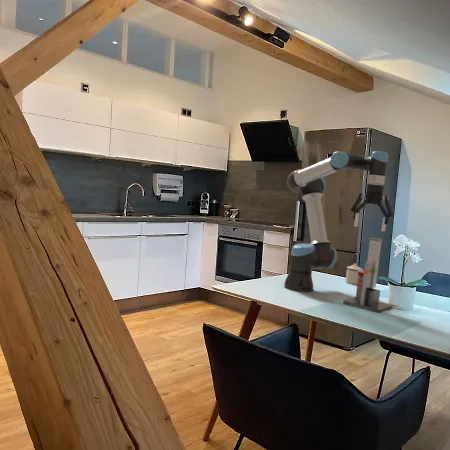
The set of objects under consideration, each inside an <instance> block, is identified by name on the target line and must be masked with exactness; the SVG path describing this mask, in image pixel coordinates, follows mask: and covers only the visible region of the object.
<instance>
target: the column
mask: <svg viewBox="0 0 450 450" xmlns="http://www.w3.org/2000/svg"><path fill="white" fill-rule="evenodd" d="M368 239H369V246H368V254H367V261H366V263H370V267H369V275H368V283H367V287H370V288H373V289H375V288H376V286H377V280H378V273H379V265H380V264H379V263H380V256H381V255H380V254H381V249H382V242H383V238H379V237H378V238H377V237H369V238H368Z"/></svg>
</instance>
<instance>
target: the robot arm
mask: <svg viewBox="0 0 450 450" xmlns="http://www.w3.org/2000/svg"><path fill="white" fill-rule="evenodd" d="M388 163H389V153H388V152H386V151H379V150H374V151H372V152H371V154H370V155H362V154H356V153H350V152H345V151H335V152H333V153H332V155H331V156H330V157H328V158H326V159H324V160H322V161H319V162H316V163H314V164H312V165H311V166H308V167H307V166H306V167H305V168H303V169H302V168H299V169H296V170H294V171H292V172H291V173H290V174H289V175H288V176H287V179H286V183H287V188H288V189H289V190H290V191H291V192H294V193H297V194H301V198H302V200H303V201H304V203H305V208H306V209H305V210H306V216H307V222H308V227H309V229H308V230H309V235H310V243H297V244H294V245H293V246H292V247H291V252H290V261H289V271H288V274H287V277H286V279H285V281H284V283H283V284H284V285H283V286H284V288H285V289H288V290H291V291H298V292H313V291H314V282H313V278H312V273H313V270H315V269H316V270H321V269H322V270H325V269H331V268H333V267H334V266H335V264H336V263H337V261H338V252H337V250H336V249H335V248H334V247H332V244H331V243H332V242H330V240H329V239H328V237H327V231H326V223H325V218H324V212H323V204H322V199H321V198H322V197H323V196H324V193H325V192H326V185H327V183H326V180H325V177H326V176H329V175H332V174H334V173H336V172H339V171H341V170H345V169H346V170H353V171H355V172H368V177H367V183H368V184H367V185H366V192H365V193H362V192H360V193H359V194H358V197H357V199H356V200H355V202H354V204H353V205H352V206H351V207H350V211H351V212H352V213H353V218H352V219H353V220H354V223H353V227H355V228H357V227H359V221H360V213H359V212H361V210H363V208H364V207H366V206H367V205H368V204H369V205H377V206H378V207H379V209H380V211H381V212H382V214H383V217H382V223H381V232H386V226H387V225H388V224H389V220H390V218H392V217H394V212H393V209H392V206H391V203H390V197H389V196H388V195H385V196H384V185H385V180H386V173H387V168H388ZM364 198H365V199H364ZM362 200H364V201H363V202H362ZM382 201H384V203H383V202H382ZM361 202H362V203H361ZM383 204H385V207H386V208H385V207H384V205H383Z"/></svg>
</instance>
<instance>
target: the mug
mask: <svg viewBox="0 0 450 450" xmlns="http://www.w3.org/2000/svg"><path fill="white" fill-rule="evenodd" d="M363 277H364V269H362V270H358V278H357V285H356V292H355V297H358V289H359V288H362V284H363ZM368 288H370V287H368ZM372 289H374V288H372Z"/></svg>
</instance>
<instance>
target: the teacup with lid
mask: <svg viewBox="0 0 450 450" xmlns="http://www.w3.org/2000/svg"><path fill="white" fill-rule="evenodd" d="M358 270H363V268H361V267H360V266H358V264H357V263H353V264H352V265H350V266H349V265H348V266H347V267H346V274H345V283H346V284H350V285H355V286H357V278H358Z"/></svg>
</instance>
